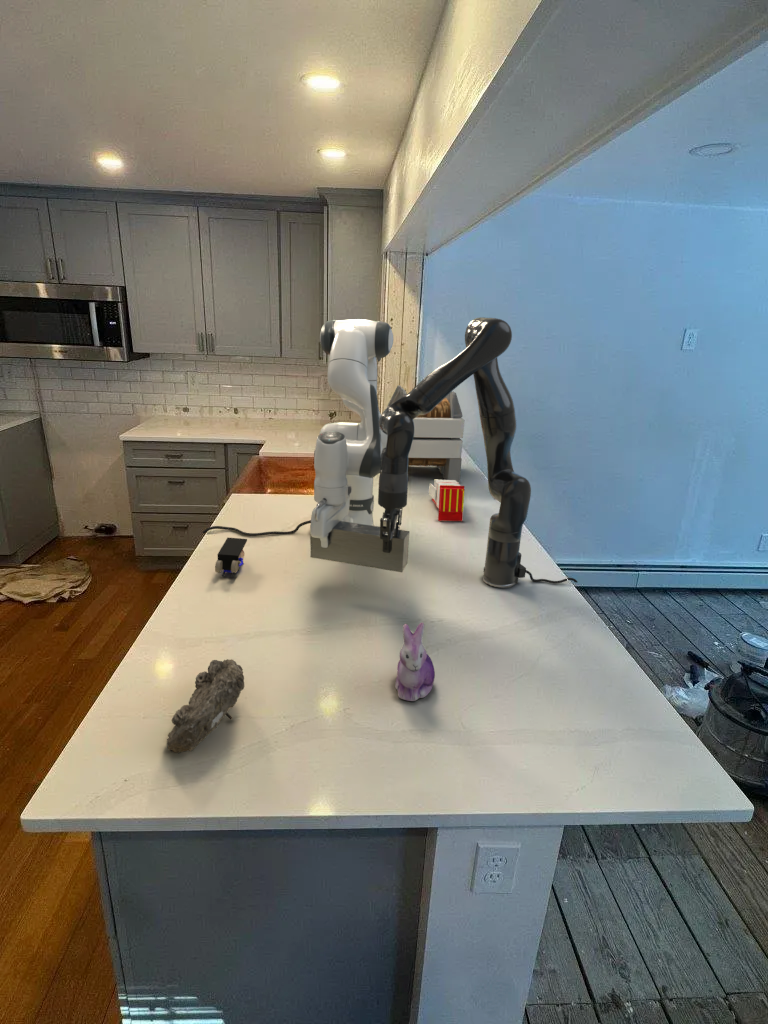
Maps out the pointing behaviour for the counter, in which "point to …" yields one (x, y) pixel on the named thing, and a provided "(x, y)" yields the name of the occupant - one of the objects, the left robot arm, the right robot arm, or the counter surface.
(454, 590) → the counter surface
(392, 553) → the box
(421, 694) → the figurine
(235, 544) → the figurine character
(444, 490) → the toy
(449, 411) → the transformer
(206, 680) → the fossil
